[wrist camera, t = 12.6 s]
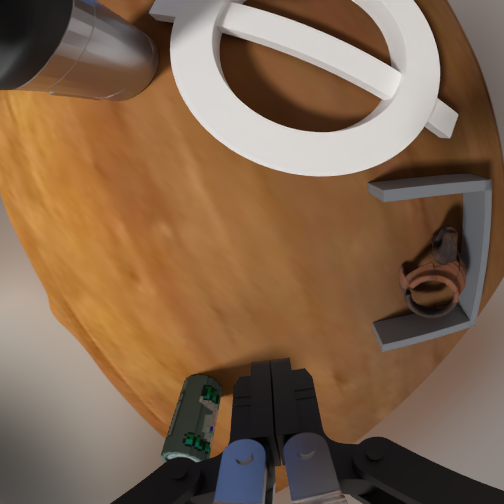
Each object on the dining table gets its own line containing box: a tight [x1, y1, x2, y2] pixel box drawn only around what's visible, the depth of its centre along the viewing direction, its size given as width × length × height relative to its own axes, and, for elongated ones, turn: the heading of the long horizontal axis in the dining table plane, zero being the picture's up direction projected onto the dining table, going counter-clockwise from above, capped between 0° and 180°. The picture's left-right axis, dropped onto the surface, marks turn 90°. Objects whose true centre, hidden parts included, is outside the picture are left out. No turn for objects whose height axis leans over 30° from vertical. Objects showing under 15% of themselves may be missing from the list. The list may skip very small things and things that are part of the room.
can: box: [161, 374, 221, 462], centre depth 37 cm, size 6×6×15 cm
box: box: [368, 173, 492, 352], centre depth 31 cm, size 15×20×5 cm
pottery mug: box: [399, 226, 466, 318], centre depth 31 cm, size 12×10×8 cm
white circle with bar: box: [149, 0, 458, 176], centre depth 24 cm, size 28×28×5 cm
